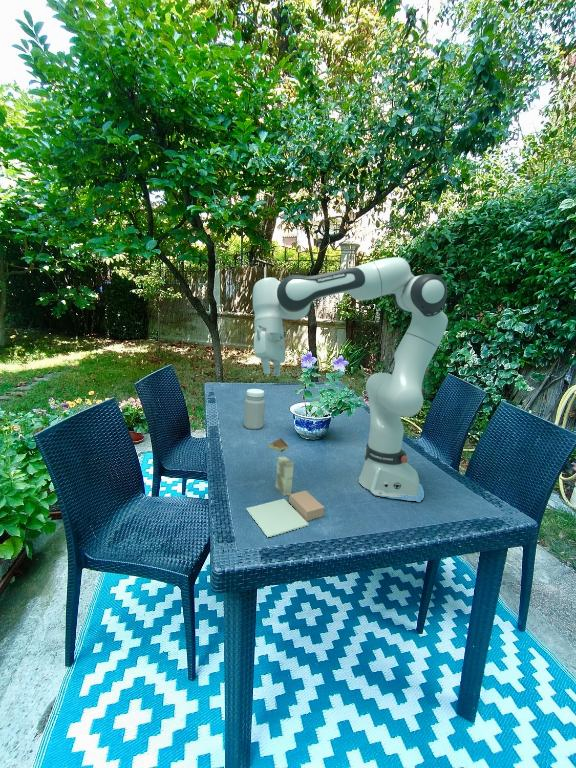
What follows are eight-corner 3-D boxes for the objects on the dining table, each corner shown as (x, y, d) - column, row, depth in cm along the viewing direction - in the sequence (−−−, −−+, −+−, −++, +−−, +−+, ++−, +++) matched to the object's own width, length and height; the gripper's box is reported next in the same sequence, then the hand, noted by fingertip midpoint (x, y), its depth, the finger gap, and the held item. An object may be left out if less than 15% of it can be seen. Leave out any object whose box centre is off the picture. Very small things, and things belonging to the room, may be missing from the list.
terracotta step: (288, 503, 109) (289, 494, 108) (305, 498, 112) (305, 490, 111) (306, 521, 101) (307, 512, 100) (323, 516, 104) (324, 507, 103)
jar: (254, 431, 164) (256, 394, 160) (239, 426, 170) (240, 390, 166) (267, 426, 172) (270, 391, 168) (253, 421, 178) (254, 387, 173)
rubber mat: (245, 510, 104) (245, 508, 104) (284, 500, 110) (284, 498, 110) (267, 538, 92) (267, 536, 92) (308, 525, 99) (308, 524, 99)
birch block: (275, 487, 118) (277, 457, 115) (282, 485, 119) (284, 455, 116) (284, 496, 113) (286, 464, 110) (291, 494, 114) (293, 463, 111)
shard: (280, 440, 158) (280, 437, 157) (295, 445, 154) (295, 441, 154) (267, 448, 148) (267, 444, 148) (283, 453, 145) (283, 449, 145)
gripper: (267, 322, 98) (271, 371, 97) (287, 335, 118) (290, 376, 117) (246, 325, 100) (250, 373, 99) (269, 337, 120) (272, 378, 119)
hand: (272, 375), depth 108 cm, fingers open, 8 cm apart
